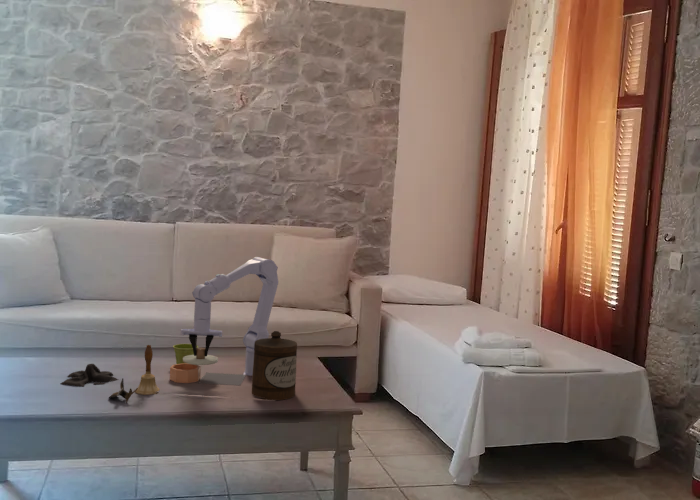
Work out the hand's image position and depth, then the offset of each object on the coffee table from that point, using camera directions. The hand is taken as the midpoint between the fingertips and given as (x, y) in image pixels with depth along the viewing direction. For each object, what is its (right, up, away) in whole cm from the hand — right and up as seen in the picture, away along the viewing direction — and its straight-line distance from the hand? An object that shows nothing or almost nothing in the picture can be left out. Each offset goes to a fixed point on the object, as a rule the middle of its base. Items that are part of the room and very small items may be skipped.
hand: (200, 355), depth 268 cm
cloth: (-37, -9, -5) cm, 38 cm away
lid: (0, -2, 0) cm, 2 cm away
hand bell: (-15, -10, -16) cm, 24 cm away
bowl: (-6, -9, 0) cm, 11 cm away
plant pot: (-9, -8, +17) cm, 21 cm away
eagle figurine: (-20, -11, -27) cm, 35 cm away
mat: (+7, -9, +3) cm, 12 cm away
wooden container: (+27, -12, -11) cm, 32 cm away
